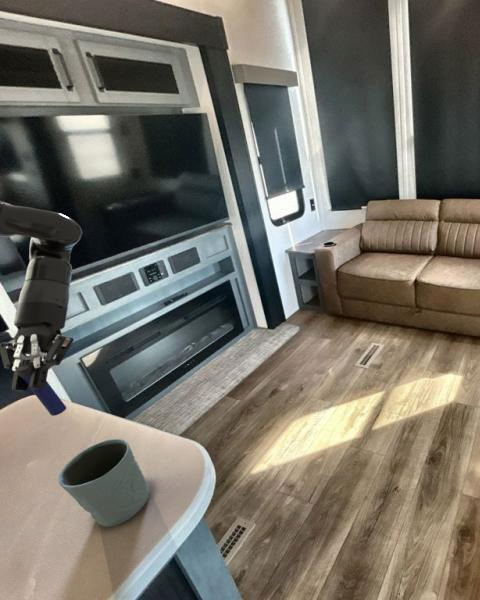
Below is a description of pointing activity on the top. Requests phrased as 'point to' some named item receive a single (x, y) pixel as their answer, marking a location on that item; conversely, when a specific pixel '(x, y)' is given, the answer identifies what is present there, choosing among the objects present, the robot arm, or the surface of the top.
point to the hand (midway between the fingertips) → (28, 389)
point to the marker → (42, 391)
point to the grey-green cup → (106, 482)
